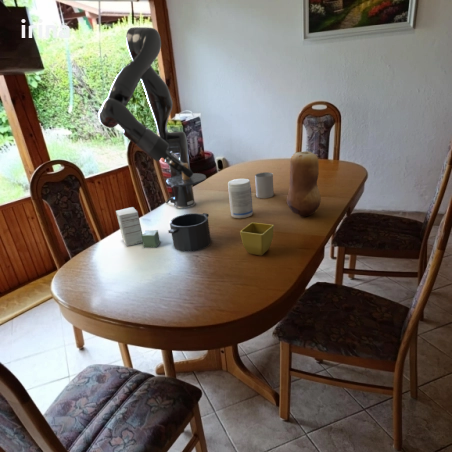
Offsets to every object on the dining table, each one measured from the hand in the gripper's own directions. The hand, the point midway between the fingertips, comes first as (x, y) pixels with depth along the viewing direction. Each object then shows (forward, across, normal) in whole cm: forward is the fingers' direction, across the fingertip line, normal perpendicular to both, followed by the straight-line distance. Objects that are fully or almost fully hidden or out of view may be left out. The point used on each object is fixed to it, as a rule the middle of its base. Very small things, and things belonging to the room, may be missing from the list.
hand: (191, 174), depth 150 cm
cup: (+42, +34, -9) cm, 55 cm away
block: (+3, -6, +30) cm, 31 cm away
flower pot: (+29, -28, +4) cm, 40 cm away
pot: (+13, -11, +19) cm, 26 cm away
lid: (0, 0, +3) cm, 3 cm away
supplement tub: (+31, +12, +2) cm, 33 cm away
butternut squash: (+48, +1, -15) cm, 50 cm away
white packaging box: (-2, +1, +35) cm, 35 cm away
